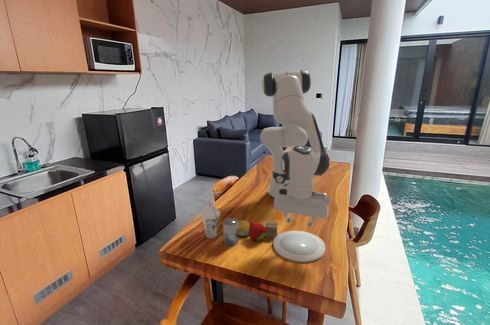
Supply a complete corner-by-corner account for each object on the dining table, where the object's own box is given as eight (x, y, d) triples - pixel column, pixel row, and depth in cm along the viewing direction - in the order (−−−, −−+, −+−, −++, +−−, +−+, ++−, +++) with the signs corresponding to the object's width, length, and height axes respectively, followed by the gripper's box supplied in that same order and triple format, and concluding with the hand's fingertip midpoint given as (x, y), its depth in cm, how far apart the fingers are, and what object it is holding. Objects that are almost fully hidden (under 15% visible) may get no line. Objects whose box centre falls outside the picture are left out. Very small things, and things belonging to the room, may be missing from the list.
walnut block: (265, 231, 115) (265, 221, 113) (277, 232, 114) (277, 221, 113) (265, 237, 110) (265, 226, 109) (277, 238, 109) (277, 227, 108)
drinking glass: (227, 236, 111) (227, 216, 108) (240, 239, 108) (240, 219, 106) (220, 243, 105) (220, 222, 103) (234, 247, 103) (233, 225, 101)
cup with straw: (207, 229, 117) (205, 187, 112) (225, 232, 114) (224, 189, 109) (197, 238, 110) (194, 193, 104) (216, 242, 106) (214, 196, 101)
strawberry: (241, 225, 108) (254, 245, 102) (255, 214, 108) (269, 233, 103) (245, 229, 113) (258, 248, 107) (259, 219, 113) (272, 237, 107)
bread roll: (249, 224, 119) (249, 216, 118) (254, 235, 111) (254, 227, 110) (231, 226, 118) (231, 218, 117) (235, 237, 110) (235, 228, 108)
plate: (281, 229, 116) (282, 226, 115) (328, 239, 108) (329, 236, 107) (265, 253, 98) (265, 250, 98) (320, 267, 90) (320, 264, 90)
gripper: (331, 191, 95) (328, 225, 99) (277, 184, 104) (277, 216, 107) (328, 197, 90) (326, 233, 93) (272, 189, 98) (271, 222, 102)
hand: (299, 224), depth 100 cm, fingers open, 7 cm apart
